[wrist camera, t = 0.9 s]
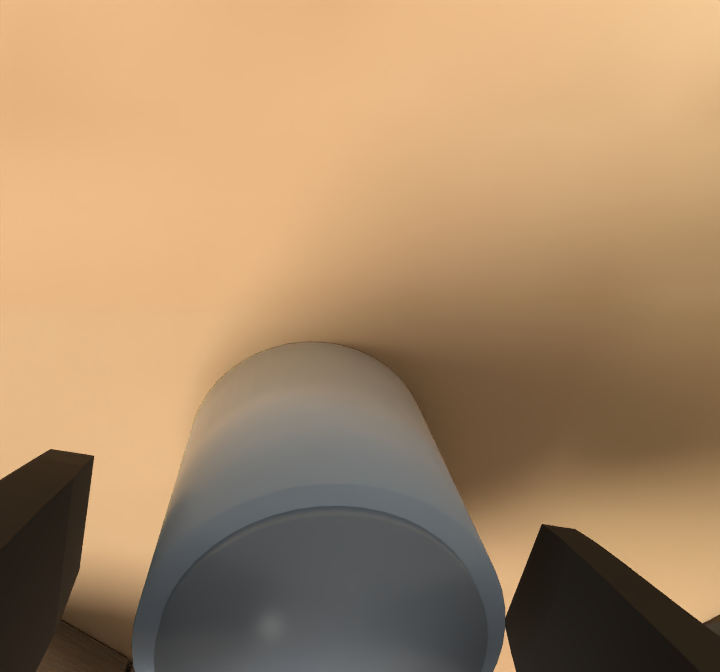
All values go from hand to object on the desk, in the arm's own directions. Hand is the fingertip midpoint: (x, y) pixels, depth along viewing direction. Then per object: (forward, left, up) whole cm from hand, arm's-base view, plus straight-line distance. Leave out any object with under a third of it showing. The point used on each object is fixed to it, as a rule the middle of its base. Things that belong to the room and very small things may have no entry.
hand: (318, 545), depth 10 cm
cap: (0, 0, -3) cm, 3 cm away
